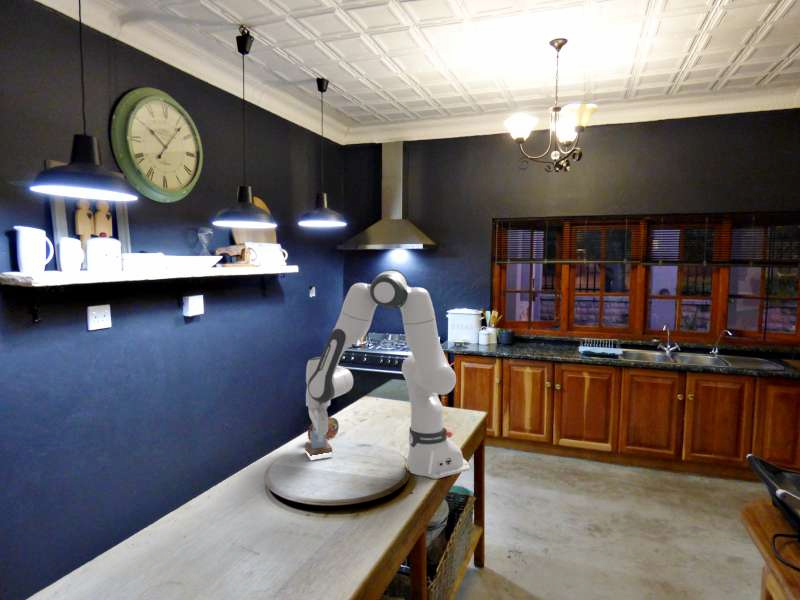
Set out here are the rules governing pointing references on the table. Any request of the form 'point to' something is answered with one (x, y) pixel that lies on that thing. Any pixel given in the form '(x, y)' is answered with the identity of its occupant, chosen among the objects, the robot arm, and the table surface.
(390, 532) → the table surface
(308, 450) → the walnut block
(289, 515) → the table surface
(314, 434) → the blue cube
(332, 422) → the tin
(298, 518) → the table surface
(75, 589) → the table surface
